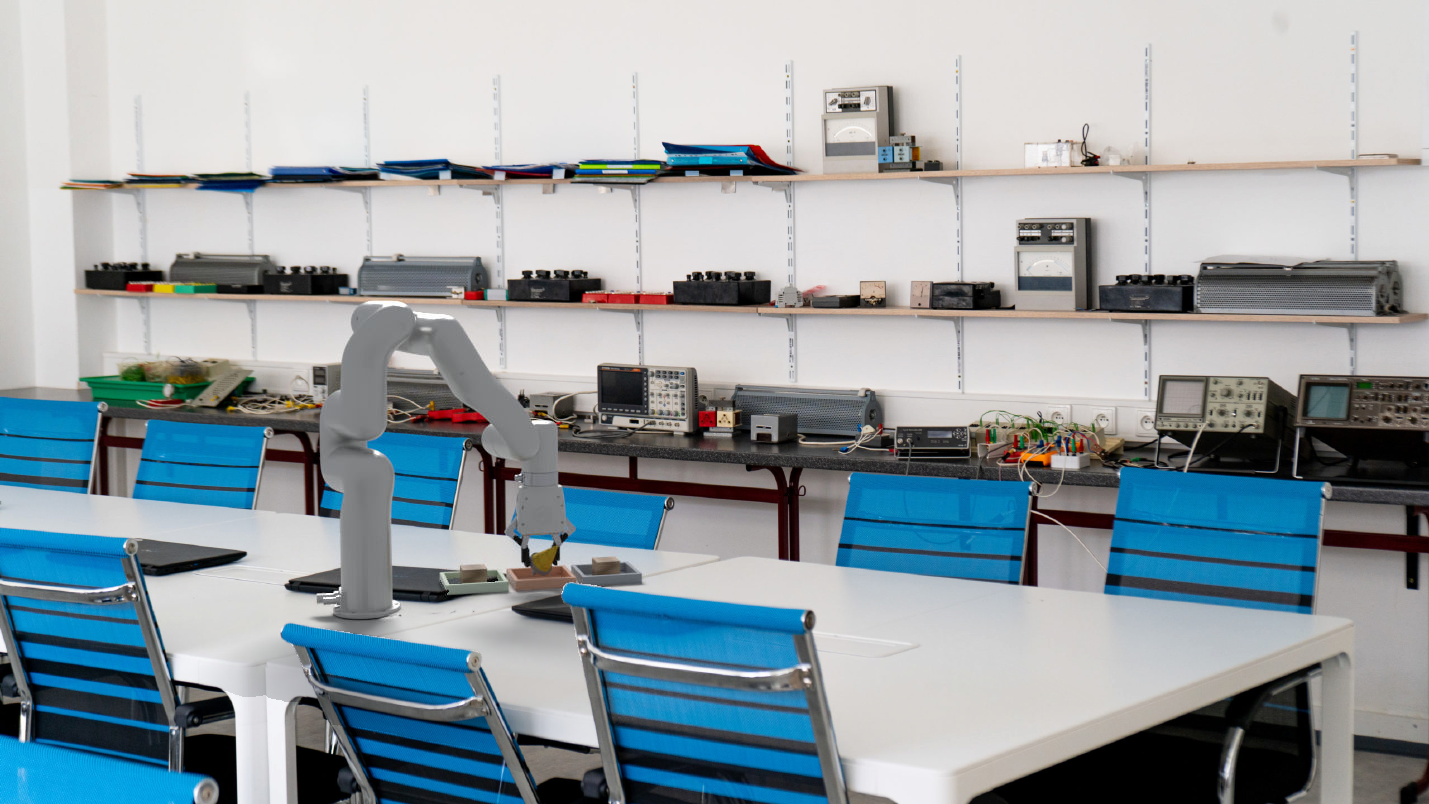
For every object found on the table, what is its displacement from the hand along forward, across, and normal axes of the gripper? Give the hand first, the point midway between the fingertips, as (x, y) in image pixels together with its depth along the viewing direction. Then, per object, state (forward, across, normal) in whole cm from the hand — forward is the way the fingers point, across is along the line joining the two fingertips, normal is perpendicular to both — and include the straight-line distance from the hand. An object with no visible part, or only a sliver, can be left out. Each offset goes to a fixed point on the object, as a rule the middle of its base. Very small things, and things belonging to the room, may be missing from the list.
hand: (540, 564), depth 277 cm
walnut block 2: (+4, +14, 0) cm, 14 cm away
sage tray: (+4, -14, 0) cm, 15 cm away
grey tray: (+4, +14, 0) cm, 15 cm away
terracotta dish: (+4, 0, 0) cm, 4 cm away
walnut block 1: (+4, -14, 0) cm, 14 cm away
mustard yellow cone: (+2, +1, 0) cm, 3 cm away
